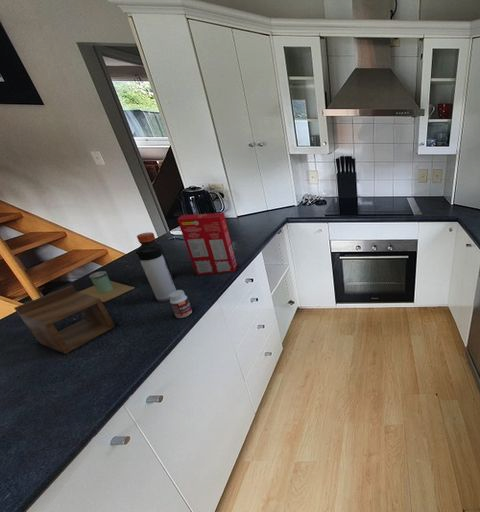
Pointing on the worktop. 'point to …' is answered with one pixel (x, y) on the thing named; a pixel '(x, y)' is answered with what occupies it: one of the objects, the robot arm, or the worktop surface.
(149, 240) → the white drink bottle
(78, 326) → the shelf unit
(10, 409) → the worktop surface
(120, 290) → the cork mat
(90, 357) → the worktop surface
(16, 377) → the worktop surface
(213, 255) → the food packaging
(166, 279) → the travel mug
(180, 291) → the pill bottle
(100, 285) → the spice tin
